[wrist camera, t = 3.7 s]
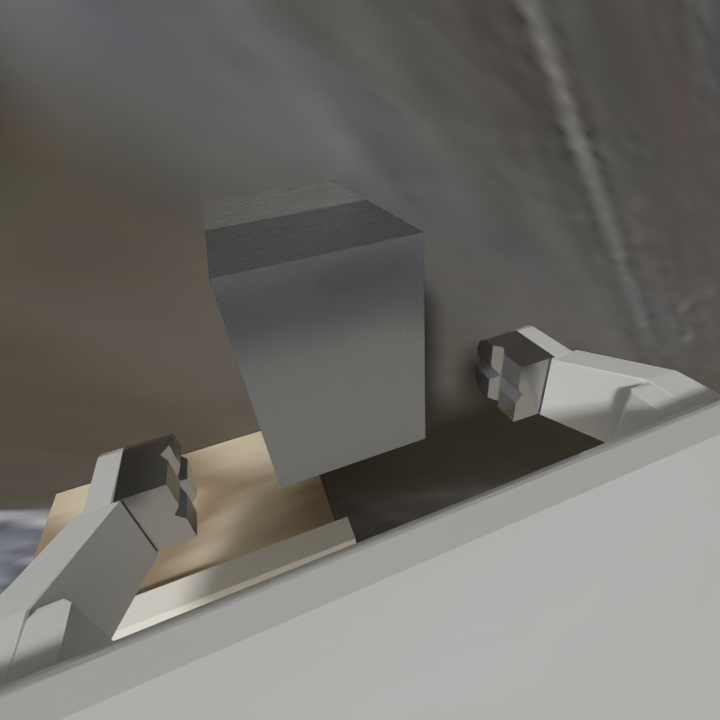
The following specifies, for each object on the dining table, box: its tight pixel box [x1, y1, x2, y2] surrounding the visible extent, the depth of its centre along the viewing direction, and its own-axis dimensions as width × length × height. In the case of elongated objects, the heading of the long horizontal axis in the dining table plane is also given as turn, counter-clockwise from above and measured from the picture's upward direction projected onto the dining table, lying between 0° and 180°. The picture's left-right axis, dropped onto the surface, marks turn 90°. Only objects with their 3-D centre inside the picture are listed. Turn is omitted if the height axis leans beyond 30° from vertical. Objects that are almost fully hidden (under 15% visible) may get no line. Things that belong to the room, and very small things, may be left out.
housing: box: [203, 181, 425, 488], centre depth 14 cm, size 5×7×8 cm
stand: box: [33, 431, 356, 641], centre depth 20 cm, size 13×13×8 cm
